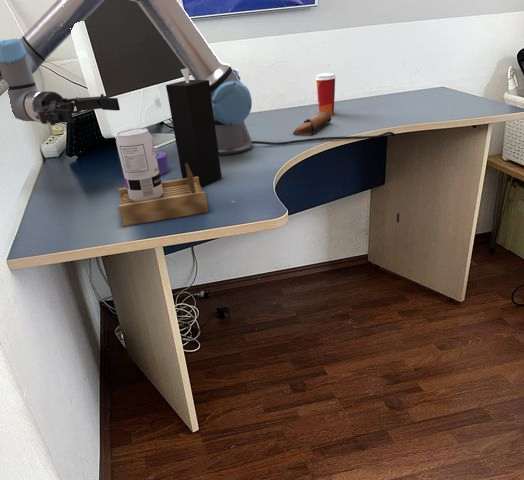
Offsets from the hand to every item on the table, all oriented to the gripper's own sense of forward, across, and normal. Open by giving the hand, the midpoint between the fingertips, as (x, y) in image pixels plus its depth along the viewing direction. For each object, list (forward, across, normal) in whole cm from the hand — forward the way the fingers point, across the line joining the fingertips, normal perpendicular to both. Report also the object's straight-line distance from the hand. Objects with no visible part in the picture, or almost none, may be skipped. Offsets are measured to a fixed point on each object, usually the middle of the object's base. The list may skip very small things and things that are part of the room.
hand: (95, 110), depth 126 cm
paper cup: (-3, -105, -23) cm, 107 cm away
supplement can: (+15, +2, -19) cm, 24 cm away
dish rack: (+18, 0, -22) cm, 28 cm away
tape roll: (-12, -21, -22) cm, 33 cm away
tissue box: (+10, -22, -22) cm, 33 cm away
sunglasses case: (+5, -83, -23) cm, 86 cm away
